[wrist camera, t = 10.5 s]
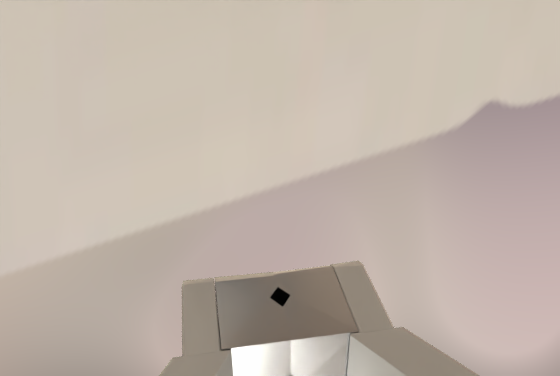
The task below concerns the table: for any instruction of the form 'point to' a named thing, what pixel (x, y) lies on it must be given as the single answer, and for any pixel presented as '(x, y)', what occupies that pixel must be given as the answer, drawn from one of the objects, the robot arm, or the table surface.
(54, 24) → the table surface
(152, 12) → the table surface
